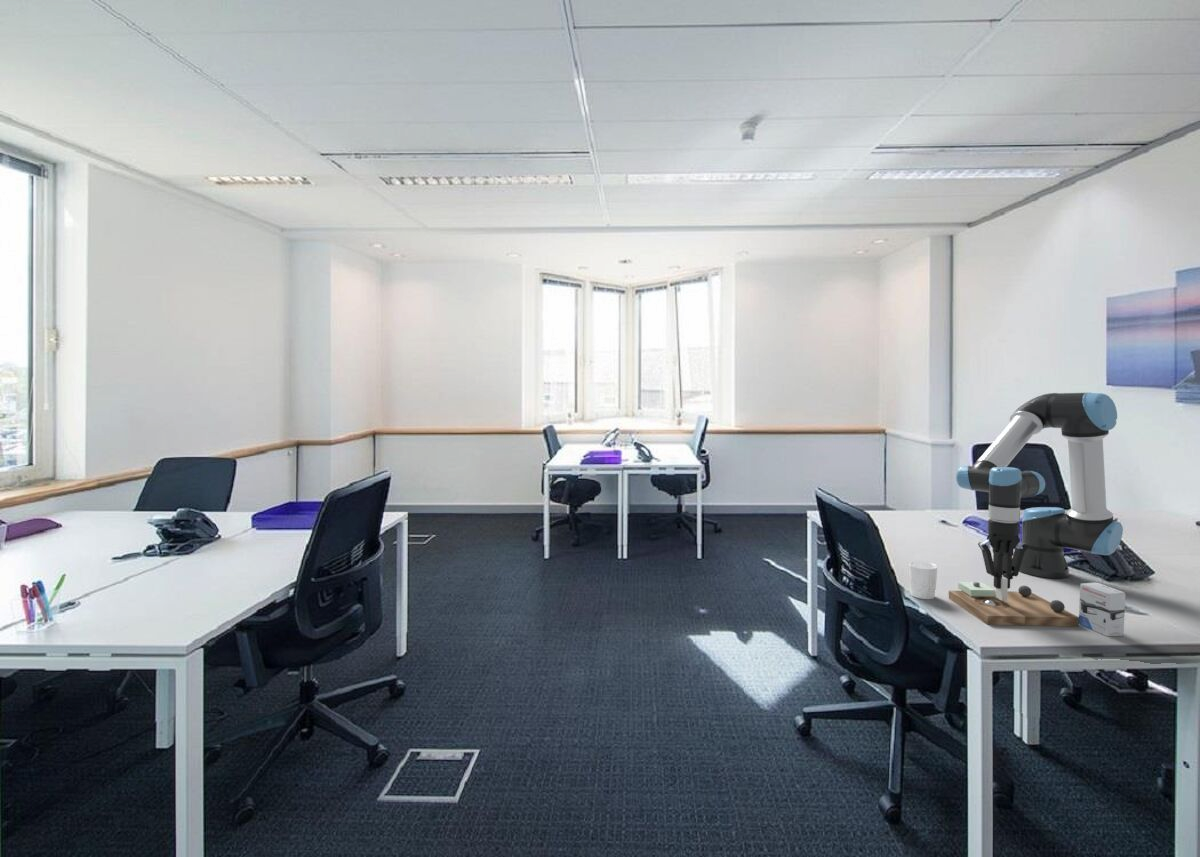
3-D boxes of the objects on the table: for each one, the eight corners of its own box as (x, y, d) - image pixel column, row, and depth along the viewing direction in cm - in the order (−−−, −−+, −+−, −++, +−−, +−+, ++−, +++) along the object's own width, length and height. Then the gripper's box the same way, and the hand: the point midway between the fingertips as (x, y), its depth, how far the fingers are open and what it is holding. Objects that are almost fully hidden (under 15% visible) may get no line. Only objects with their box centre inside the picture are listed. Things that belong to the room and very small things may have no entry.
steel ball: (990, 597, 166) (979, 600, 166) (996, 601, 163) (985, 604, 163) (993, 606, 166) (982, 610, 166) (1000, 611, 163) (989, 614, 163)
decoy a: (1026, 594, 171) (1027, 584, 171) (1034, 598, 168) (1034, 587, 167) (1015, 594, 171) (1016, 584, 171) (1022, 598, 168) (1023, 587, 168)
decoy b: (1059, 609, 159) (1059, 598, 159) (1067, 613, 156) (1067, 602, 155) (1047, 609, 159) (1047, 598, 159) (1055, 613, 156) (1055, 602, 156)
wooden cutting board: (1029, 599, 173) (1029, 591, 173) (1079, 626, 153) (1079, 617, 153) (948, 598, 175) (948, 590, 175) (987, 624, 155) (987, 615, 155)
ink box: (1077, 623, 155) (1078, 582, 154) (1093, 622, 155) (1095, 581, 155) (1107, 637, 147) (1109, 593, 146) (1124, 636, 147) (1126, 592, 146)
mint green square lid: (981, 588, 176) (981, 579, 175) (995, 596, 169) (995, 586, 168) (958, 588, 176) (958, 579, 176) (970, 596, 169) (971, 586, 169)
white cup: (926, 602, 173) (927, 570, 172) (902, 594, 180) (903, 563, 179) (942, 597, 176) (942, 566, 176) (918, 589, 183) (918, 560, 183)
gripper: (1018, 517, 166) (1016, 594, 167) (972, 517, 167) (970, 594, 169) (1036, 523, 158) (1033, 604, 160) (988, 523, 160) (985, 603, 161)
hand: (1001, 598), depth 164 cm, fingers closed
